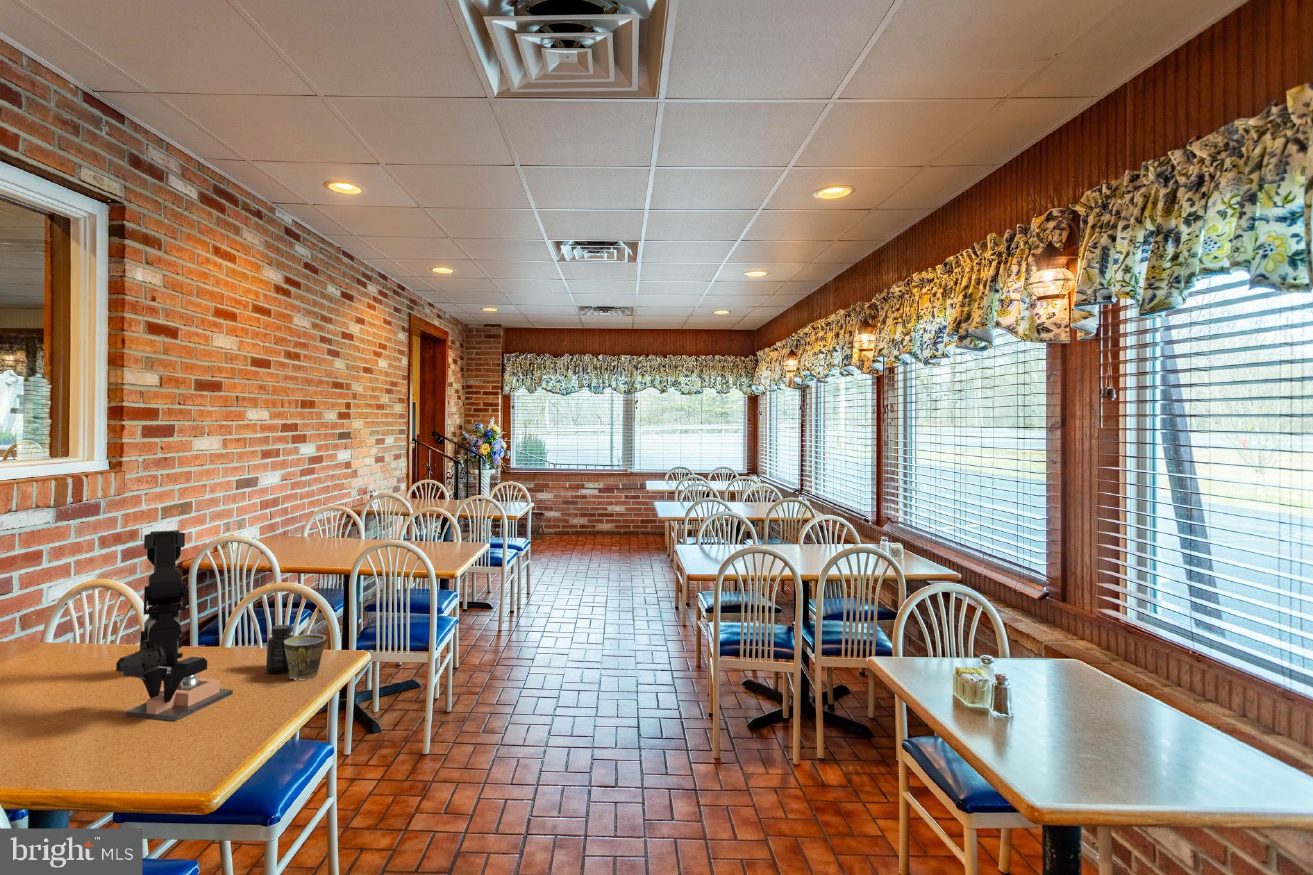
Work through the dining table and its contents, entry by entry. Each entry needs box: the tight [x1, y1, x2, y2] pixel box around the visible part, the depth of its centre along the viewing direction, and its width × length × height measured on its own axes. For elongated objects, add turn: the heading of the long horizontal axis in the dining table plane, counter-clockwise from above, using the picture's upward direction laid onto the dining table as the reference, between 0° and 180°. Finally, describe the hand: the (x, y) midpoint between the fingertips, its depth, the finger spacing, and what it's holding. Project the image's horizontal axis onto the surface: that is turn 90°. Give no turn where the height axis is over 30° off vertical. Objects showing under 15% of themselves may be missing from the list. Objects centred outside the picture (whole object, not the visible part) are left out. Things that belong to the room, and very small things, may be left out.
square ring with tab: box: [146, 677, 221, 714], centre depth 152 cm, size 9×14×3 cm, turn 172°
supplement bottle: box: [265, 624, 295, 675], centre depth 176 cm, size 7×7×12 cm
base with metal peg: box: [125, 674, 234, 722], centre depth 152 cm, size 13×16×6 cm
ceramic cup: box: [284, 633, 327, 680], centre depth 171 cm, size 13×10×10 cm
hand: (160, 701), depth 147 cm, fingers open, 3 cm apart
